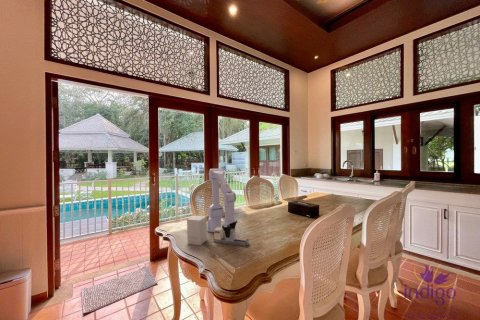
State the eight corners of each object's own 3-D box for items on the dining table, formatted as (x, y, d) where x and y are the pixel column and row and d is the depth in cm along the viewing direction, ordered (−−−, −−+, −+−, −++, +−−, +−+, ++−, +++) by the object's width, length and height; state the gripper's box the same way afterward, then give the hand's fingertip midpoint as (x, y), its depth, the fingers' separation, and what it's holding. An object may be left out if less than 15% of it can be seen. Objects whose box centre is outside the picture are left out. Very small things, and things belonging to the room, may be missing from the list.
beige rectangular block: (214, 239, 126) (214, 229, 126) (217, 236, 130) (217, 227, 130) (220, 240, 125) (220, 230, 125) (223, 237, 129) (222, 227, 129)
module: (225, 240, 124) (225, 230, 124) (227, 237, 128) (227, 228, 128) (233, 241, 122) (232, 231, 122) (235, 238, 126) (235, 229, 126)
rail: (213, 242, 126) (213, 237, 126) (216, 239, 130) (216, 234, 130) (246, 246, 120) (246, 241, 120) (248, 243, 124) (248, 238, 124)
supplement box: (207, 239, 130) (207, 216, 130) (200, 245, 122) (199, 220, 122) (194, 238, 133) (194, 215, 133) (187, 243, 125) (186, 219, 125)
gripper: (231, 216, 117) (232, 240, 117) (239, 210, 130) (240, 231, 131) (220, 215, 119) (220, 239, 119) (229, 209, 133) (229, 230, 133)
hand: (230, 235), depth 125 cm, fingers open, 7 cm apart
